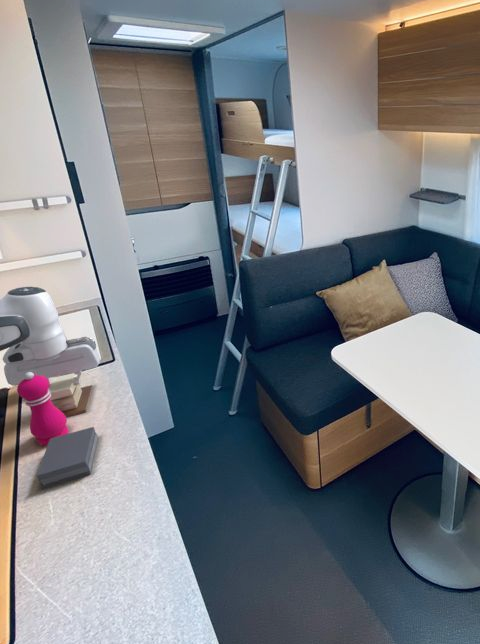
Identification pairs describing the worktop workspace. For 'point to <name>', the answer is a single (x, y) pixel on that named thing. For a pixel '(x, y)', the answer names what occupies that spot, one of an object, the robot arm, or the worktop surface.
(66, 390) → the ivory book
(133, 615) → the worktop surface
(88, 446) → the grey pile
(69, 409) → the ivory pile
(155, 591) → the worktop surface
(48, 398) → the pepper mill
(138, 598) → the worktop surface
